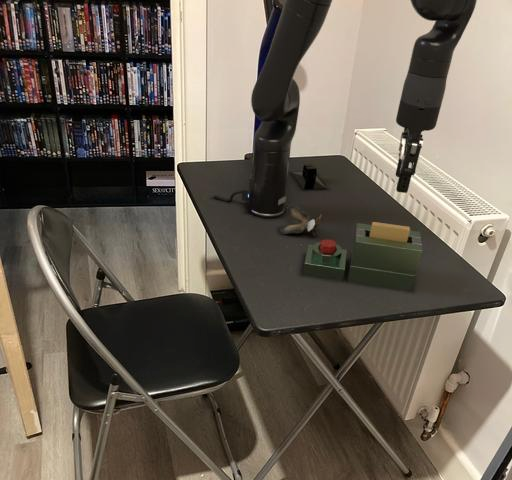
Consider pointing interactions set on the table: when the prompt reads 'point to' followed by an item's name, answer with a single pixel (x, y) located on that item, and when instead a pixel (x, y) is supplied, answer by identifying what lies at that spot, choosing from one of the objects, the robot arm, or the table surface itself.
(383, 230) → the toast
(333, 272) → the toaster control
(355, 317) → the table surface
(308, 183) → the black block on base
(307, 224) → the eagle figurine
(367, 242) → the toaster
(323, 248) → the button
